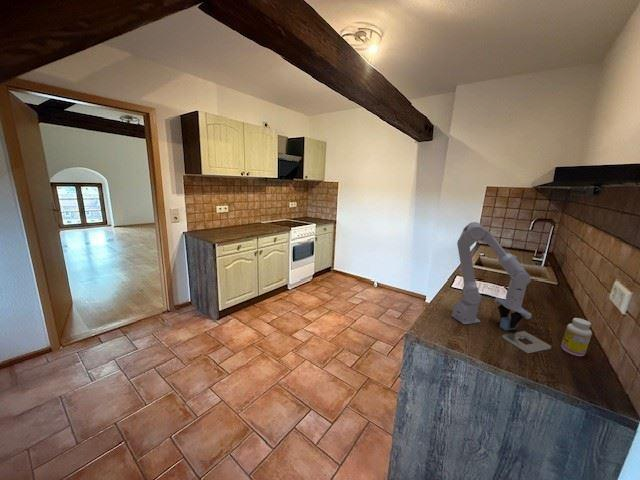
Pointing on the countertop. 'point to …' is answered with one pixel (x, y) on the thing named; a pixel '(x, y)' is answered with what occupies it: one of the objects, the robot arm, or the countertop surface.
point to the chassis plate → (529, 348)
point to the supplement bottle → (577, 337)
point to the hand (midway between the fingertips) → (507, 324)
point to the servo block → (506, 323)
